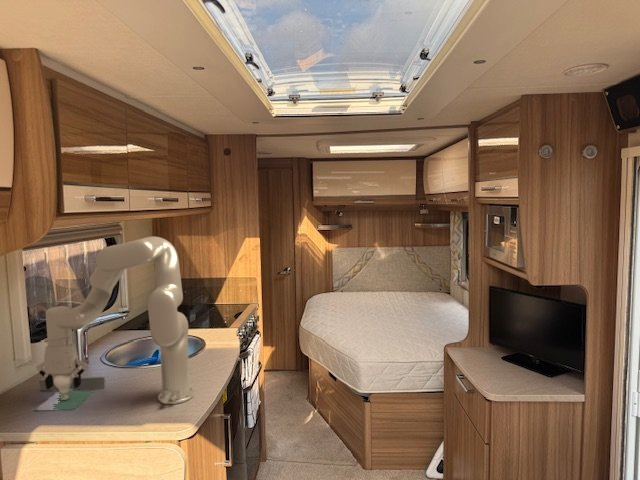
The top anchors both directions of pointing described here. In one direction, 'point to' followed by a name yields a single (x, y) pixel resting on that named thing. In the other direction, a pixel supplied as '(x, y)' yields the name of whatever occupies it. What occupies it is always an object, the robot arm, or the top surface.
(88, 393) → the mat
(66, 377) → the lightbulb
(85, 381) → the low wall
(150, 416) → the top surface
